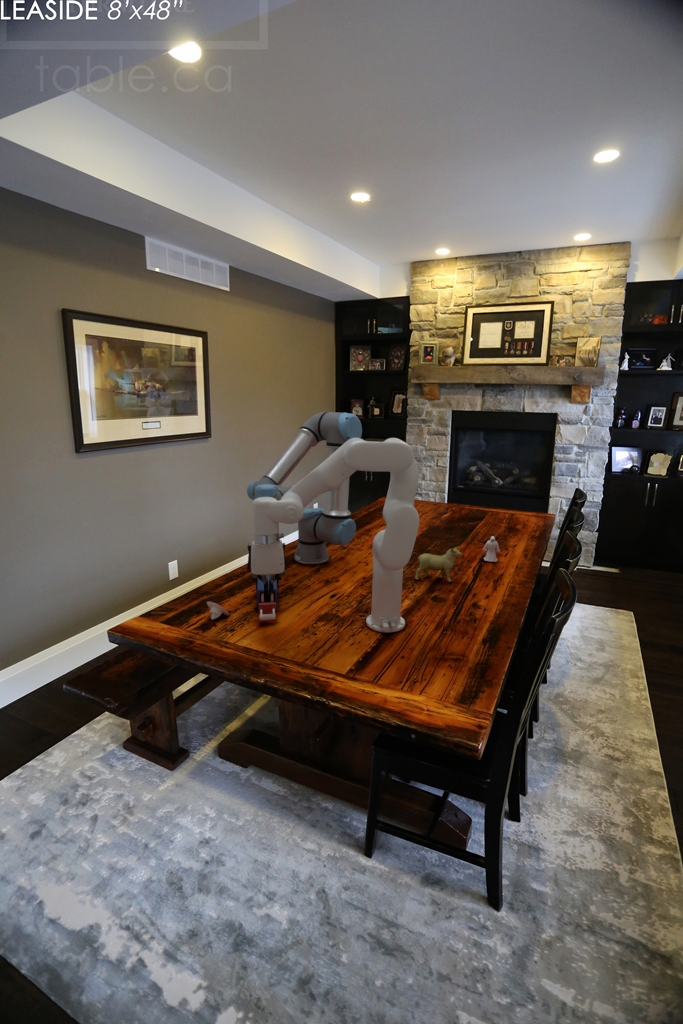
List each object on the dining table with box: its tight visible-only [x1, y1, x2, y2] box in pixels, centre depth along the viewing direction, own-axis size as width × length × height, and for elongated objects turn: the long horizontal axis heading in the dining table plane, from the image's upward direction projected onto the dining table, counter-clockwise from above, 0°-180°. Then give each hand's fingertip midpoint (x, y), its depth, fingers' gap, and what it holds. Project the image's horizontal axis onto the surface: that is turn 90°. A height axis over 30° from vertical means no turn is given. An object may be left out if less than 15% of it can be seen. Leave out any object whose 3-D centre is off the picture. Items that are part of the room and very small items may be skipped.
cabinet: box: [256, 574, 279, 613], centre depth 177 cm, size 18×7×8 cm, turn 8°
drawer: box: [258, 592, 277, 623], centre depth 165 cm, size 22×6×6 cm, turn 8°
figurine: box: [482, 535, 501, 563], centre depth 223 cm, size 8×8×12 cm
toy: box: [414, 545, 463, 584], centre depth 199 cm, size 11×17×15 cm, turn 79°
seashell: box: [206, 600, 230, 620], centre depth 164 cm, size 8×5×8 cm
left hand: (267, 588), depth 183 cm, fingers closed on cabinet, 7 cm apart
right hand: (268, 593), depth 156 cm, fingers closed
